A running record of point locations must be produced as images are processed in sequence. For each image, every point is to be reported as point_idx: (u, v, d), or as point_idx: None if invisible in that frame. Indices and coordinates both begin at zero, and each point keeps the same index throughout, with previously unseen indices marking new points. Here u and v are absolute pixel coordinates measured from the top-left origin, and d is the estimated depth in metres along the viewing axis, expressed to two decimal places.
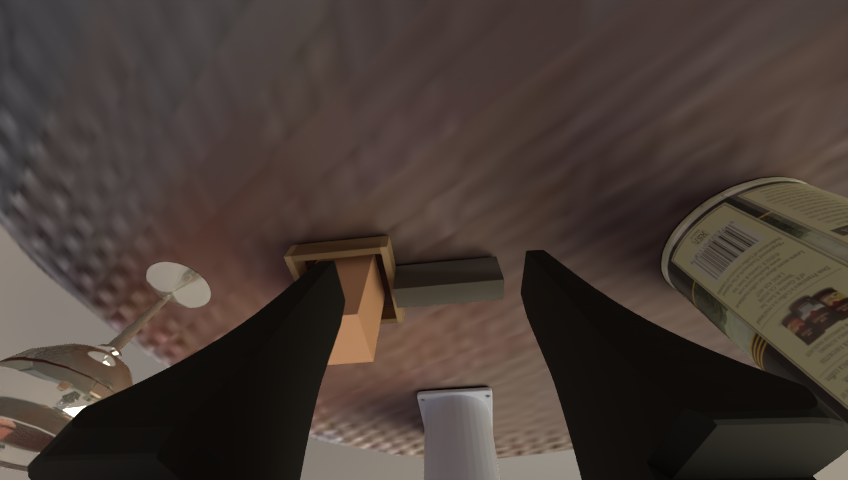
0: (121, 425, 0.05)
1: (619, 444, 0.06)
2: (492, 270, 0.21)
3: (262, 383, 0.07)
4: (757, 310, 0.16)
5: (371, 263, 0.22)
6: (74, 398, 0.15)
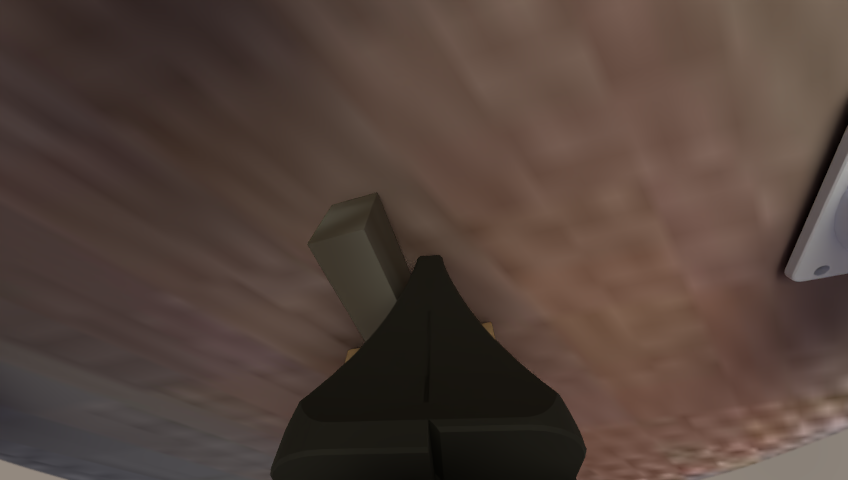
0: (366, 419, 0.04)
1: None
2: None
3: None
4: None
5: None
6: None
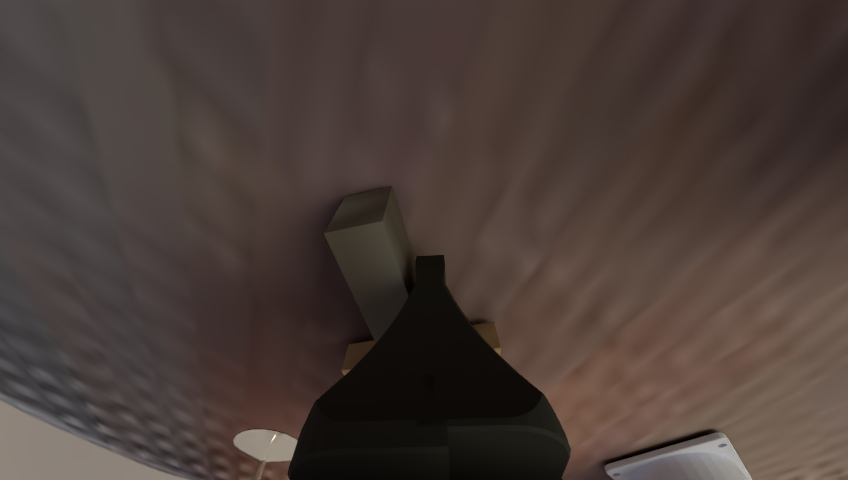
0: (384, 418, 0.04)
1: None
2: None
3: None
4: None
5: None
6: None
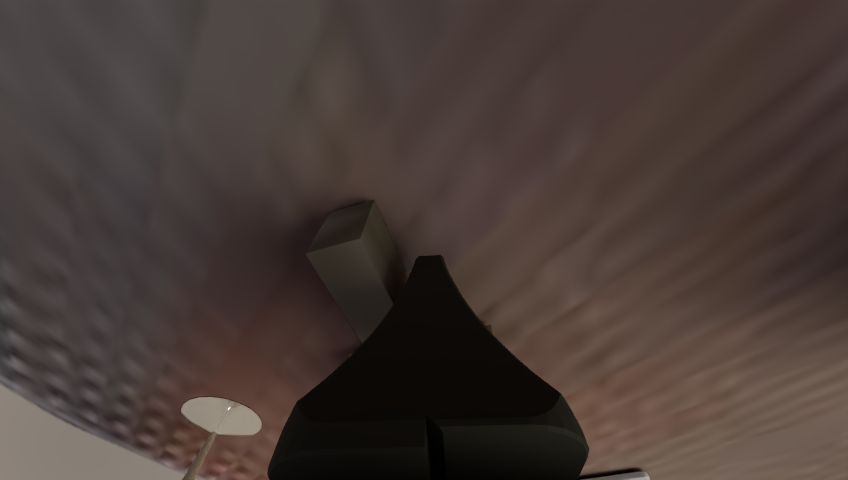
0: (363, 419, 0.04)
1: None
2: None
3: None
4: None
5: None
6: None
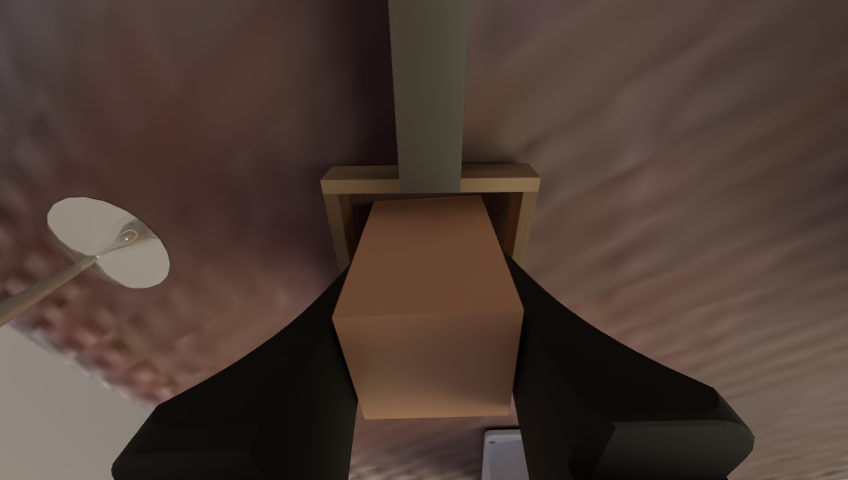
0: (204, 422, 0.04)
1: (550, 446, 0.06)
2: None
3: (321, 382, 0.07)
4: None
5: None
6: None
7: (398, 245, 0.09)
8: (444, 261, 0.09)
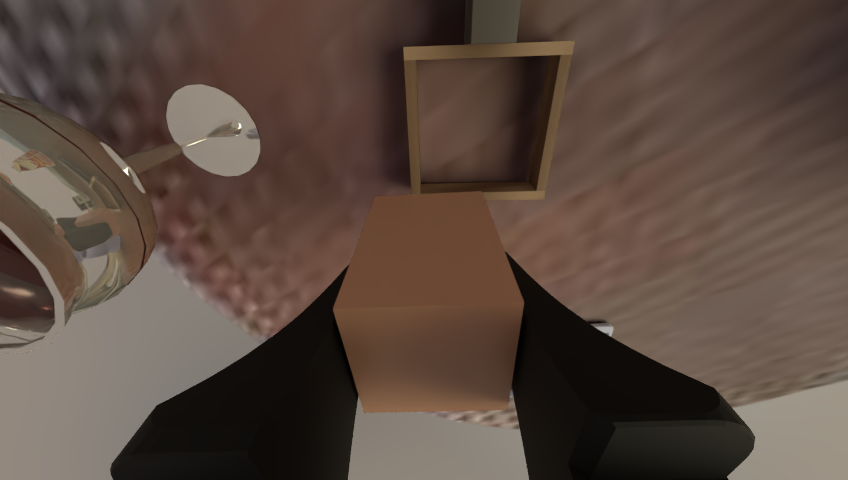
0: (203, 423, 0.04)
1: (551, 446, 0.06)
2: None
3: (320, 381, 0.07)
4: None
5: None
6: (44, 169, 0.07)
7: (399, 239, 0.09)
8: (445, 255, 0.09)
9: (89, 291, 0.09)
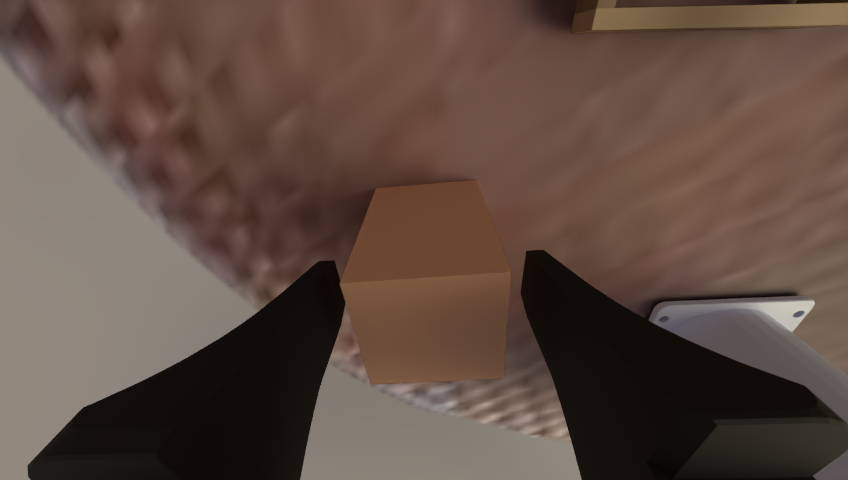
0: (120, 425, 0.05)
1: (619, 444, 0.06)
2: None
3: (262, 383, 0.07)
4: None
5: None
6: None
7: (398, 224, 0.10)
8: (440, 235, 0.09)
9: None
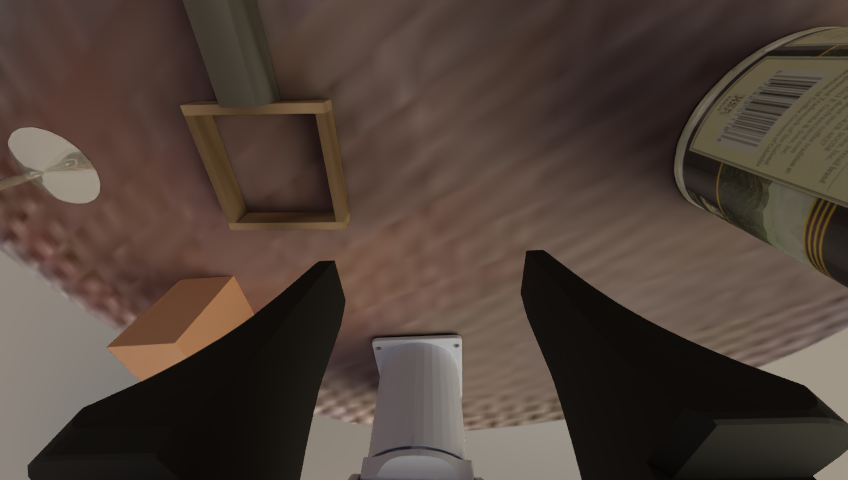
0: (121, 425, 0.05)
1: (619, 444, 0.06)
2: None
3: (262, 383, 0.07)
4: (822, 164, 0.11)
5: (223, 288, 0.23)
6: None
7: (163, 310, 0.21)
8: (172, 320, 0.20)
9: None
